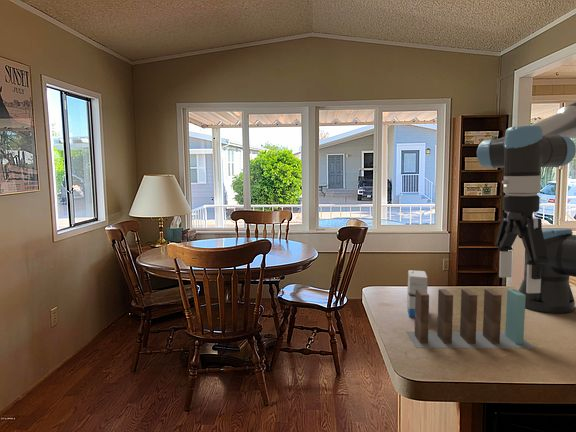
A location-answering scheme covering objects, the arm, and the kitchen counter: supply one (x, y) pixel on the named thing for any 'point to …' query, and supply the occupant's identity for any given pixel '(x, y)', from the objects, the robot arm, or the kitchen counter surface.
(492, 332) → the tile
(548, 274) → the robot arm
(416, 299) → the tile
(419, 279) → the ink box
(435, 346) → the mat
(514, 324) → the teal tile
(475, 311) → the tile
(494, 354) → the kitchen counter surface
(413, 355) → the kitchen counter surface
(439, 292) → the tile
